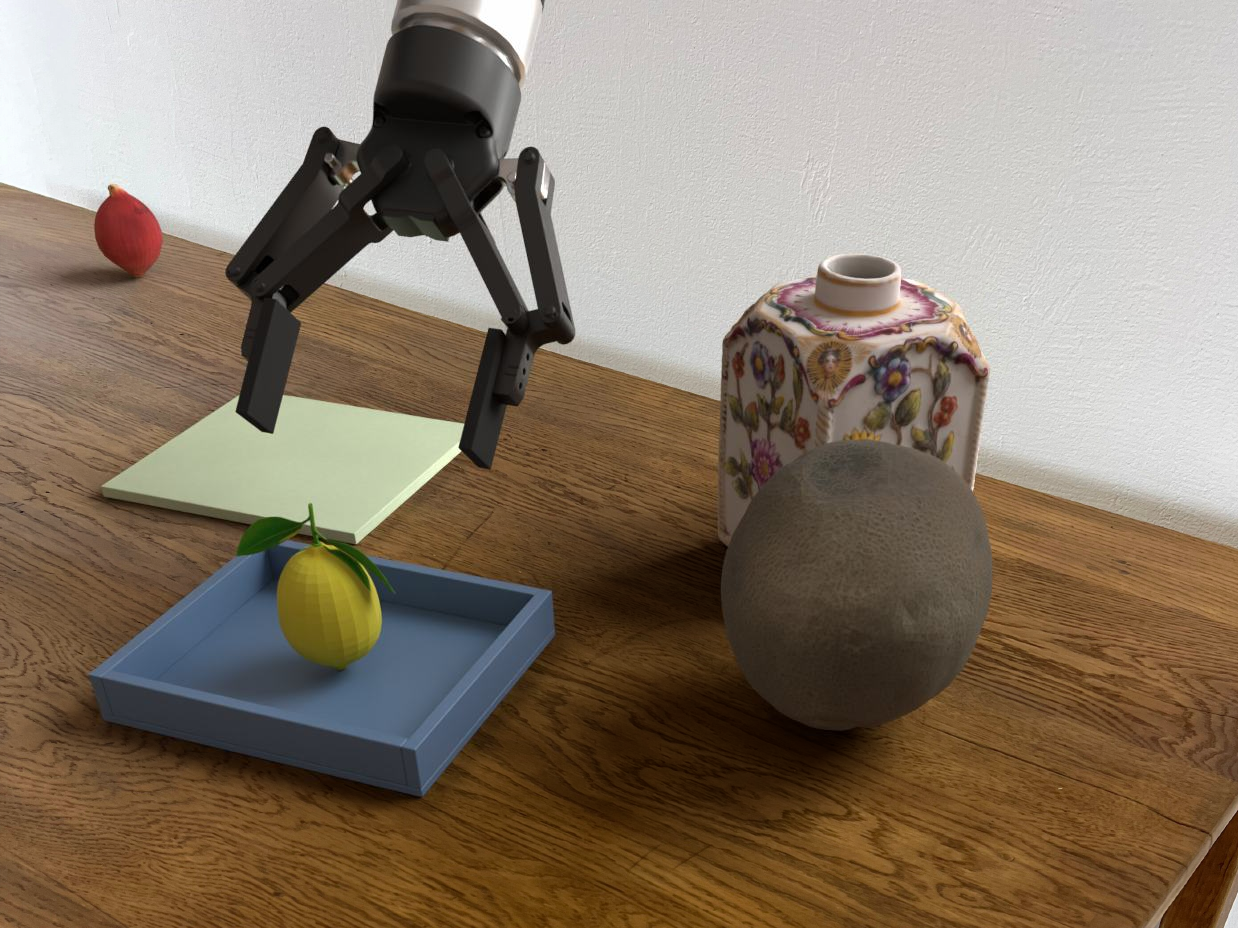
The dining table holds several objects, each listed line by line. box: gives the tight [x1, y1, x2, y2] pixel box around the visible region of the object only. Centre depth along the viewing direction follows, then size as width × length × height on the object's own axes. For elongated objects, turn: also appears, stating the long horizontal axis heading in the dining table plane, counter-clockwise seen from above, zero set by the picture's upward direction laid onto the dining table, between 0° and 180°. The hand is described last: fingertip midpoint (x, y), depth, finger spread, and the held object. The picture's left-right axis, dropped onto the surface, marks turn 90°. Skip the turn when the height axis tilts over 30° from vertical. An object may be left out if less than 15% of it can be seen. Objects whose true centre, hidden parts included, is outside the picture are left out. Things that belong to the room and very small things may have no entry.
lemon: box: [235, 503, 396, 670], centre depth 74 cm, size 7×6×10 cm
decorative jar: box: [717, 253, 991, 547], centre depth 81 cm, size 12×12×18 cm
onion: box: [93, 183, 164, 278], centre depth 125 cm, size 6×6×8 cm
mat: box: [100, 394, 464, 545], centre depth 97 cm, size 20×18×1 cm
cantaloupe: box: [720, 439, 994, 732], centre depth 69 cm, size 14×14×15 cm
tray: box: [88, 539, 556, 798], centre depth 76 cm, size 20×17×3 cm
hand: (361, 441), depth 74 cm, fingers open, 13 cm apart
